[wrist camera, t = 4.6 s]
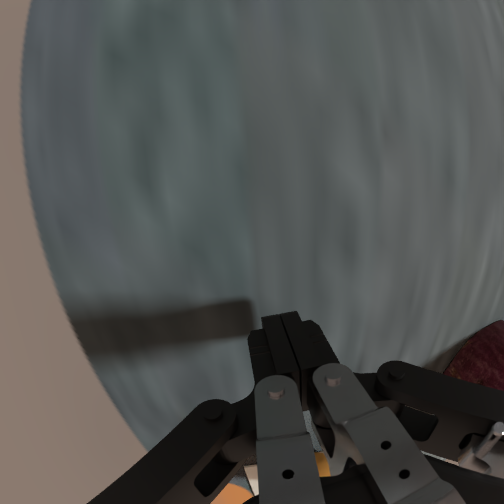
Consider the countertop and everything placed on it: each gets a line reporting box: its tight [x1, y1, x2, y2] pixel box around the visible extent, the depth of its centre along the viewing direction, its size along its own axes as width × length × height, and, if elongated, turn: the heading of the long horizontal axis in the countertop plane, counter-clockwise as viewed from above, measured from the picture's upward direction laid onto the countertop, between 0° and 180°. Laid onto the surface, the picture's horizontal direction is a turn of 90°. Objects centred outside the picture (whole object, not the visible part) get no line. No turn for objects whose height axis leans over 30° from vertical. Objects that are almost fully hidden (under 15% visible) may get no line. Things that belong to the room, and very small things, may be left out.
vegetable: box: [443, 320, 504, 391], centre depth 12 cm, size 10×10×15 cm
